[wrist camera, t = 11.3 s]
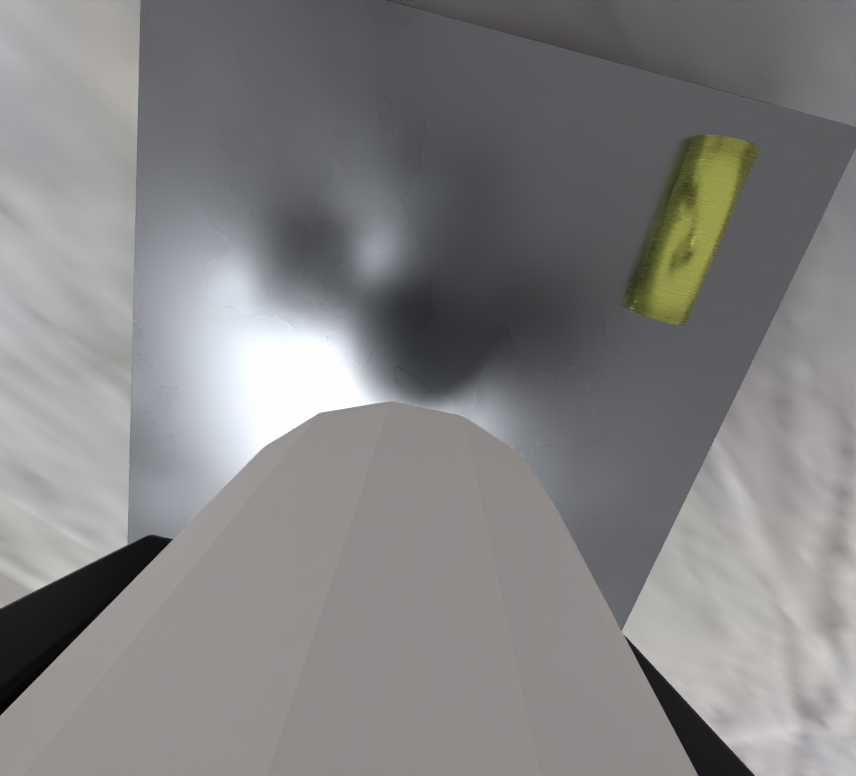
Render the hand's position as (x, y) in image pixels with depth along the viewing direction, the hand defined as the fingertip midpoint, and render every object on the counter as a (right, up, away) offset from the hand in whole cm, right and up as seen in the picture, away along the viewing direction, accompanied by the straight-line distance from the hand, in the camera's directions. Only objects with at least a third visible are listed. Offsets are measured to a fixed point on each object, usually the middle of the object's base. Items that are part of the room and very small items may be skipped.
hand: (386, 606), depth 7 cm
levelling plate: (+1, +3, +8) cm, 8 cm away
